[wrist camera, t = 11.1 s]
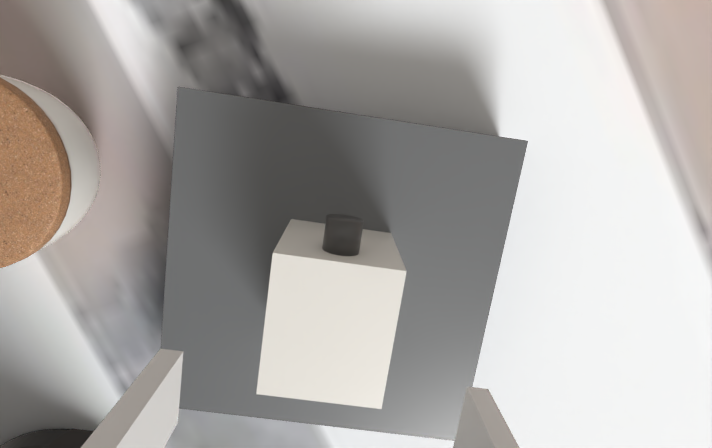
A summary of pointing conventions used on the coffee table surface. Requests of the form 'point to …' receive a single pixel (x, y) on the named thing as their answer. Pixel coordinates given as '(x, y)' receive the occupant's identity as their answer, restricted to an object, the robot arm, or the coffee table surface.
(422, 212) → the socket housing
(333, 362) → the plug
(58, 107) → the lidded jar
